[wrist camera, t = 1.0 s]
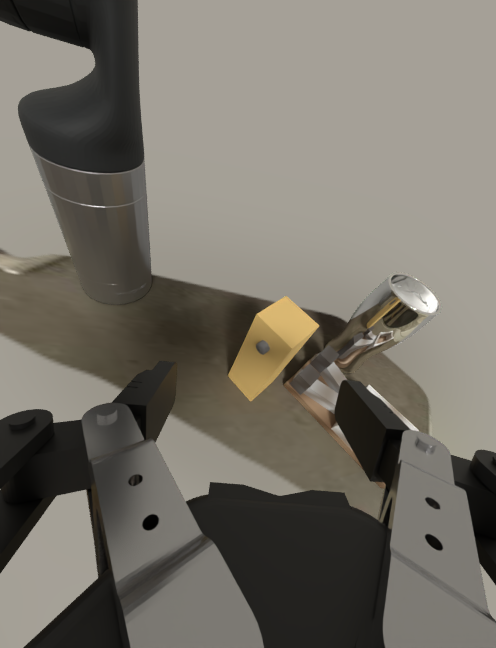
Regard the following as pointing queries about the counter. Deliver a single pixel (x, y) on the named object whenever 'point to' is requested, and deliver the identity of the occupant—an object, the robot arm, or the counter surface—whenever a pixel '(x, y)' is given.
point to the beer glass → (385, 320)
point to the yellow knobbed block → (270, 346)
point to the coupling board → (327, 394)
